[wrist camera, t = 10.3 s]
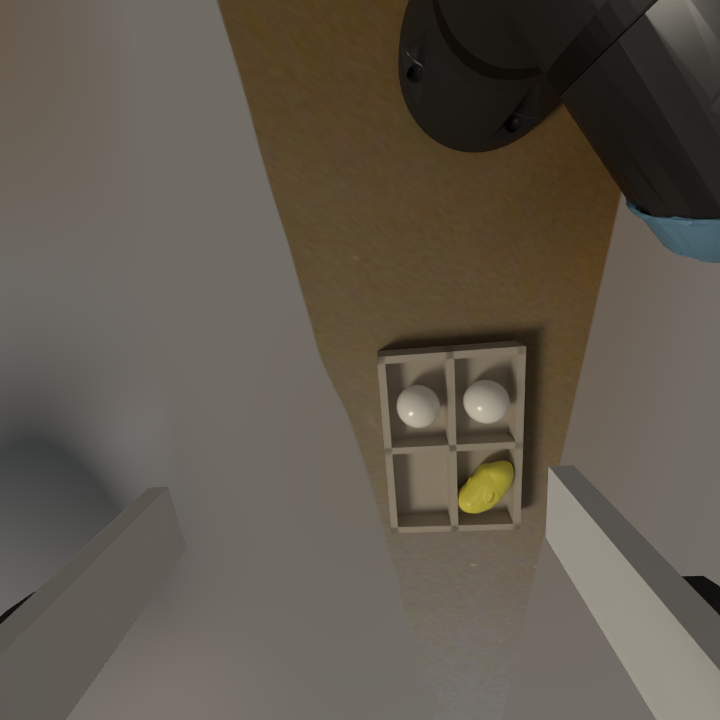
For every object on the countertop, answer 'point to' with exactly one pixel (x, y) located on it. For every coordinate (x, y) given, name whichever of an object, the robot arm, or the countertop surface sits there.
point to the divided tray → (450, 435)
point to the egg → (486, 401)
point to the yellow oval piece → (486, 486)
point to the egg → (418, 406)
